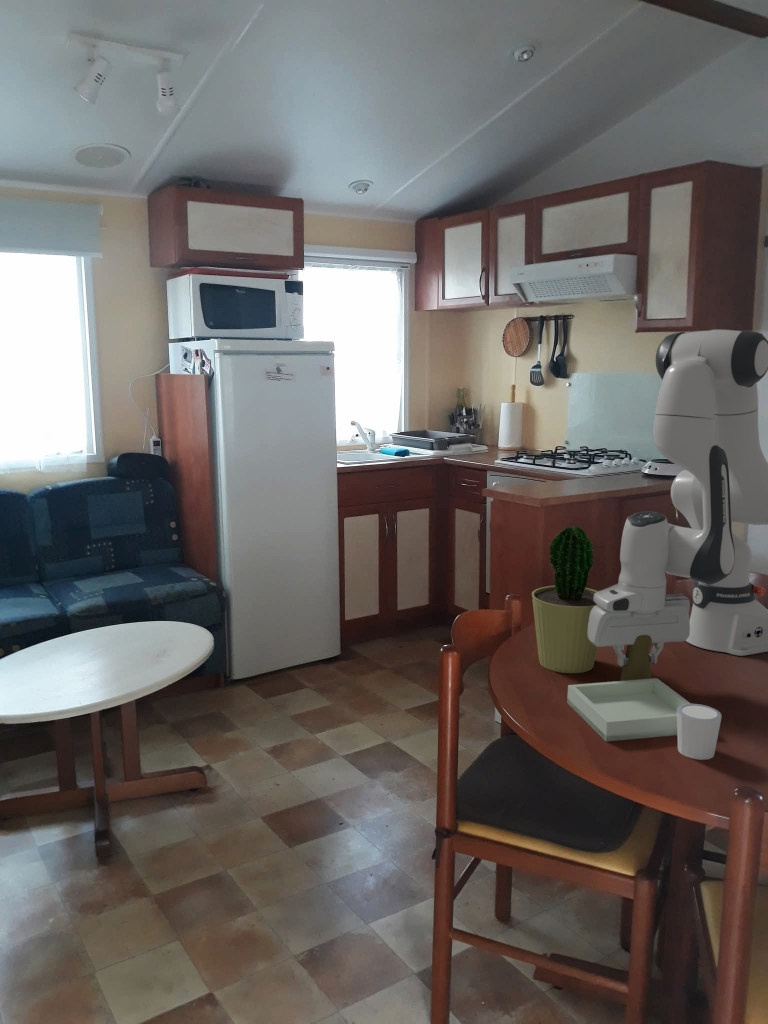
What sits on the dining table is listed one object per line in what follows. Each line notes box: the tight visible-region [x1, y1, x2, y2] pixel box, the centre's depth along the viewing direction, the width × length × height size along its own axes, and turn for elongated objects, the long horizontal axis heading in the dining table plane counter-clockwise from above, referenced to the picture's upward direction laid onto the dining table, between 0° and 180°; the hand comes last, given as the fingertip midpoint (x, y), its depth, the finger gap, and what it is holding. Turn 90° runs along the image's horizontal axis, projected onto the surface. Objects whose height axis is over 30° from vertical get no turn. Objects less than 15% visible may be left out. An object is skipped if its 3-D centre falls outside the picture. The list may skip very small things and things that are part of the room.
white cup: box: [676, 703, 722, 761], centre depth 136 cm, size 7×7×7 cm
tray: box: [566, 677, 692, 743], centre depth 149 cm, size 18×16×4 cm
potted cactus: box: [531, 524, 599, 674], centre depth 173 cm, size 15×15×30 cm
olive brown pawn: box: [619, 635, 653, 681], centre depth 164 cm, size 6×6×11 cm
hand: (636, 664), depth 164 cm, fingers closed on olive brown pawn, 5 cm apart
